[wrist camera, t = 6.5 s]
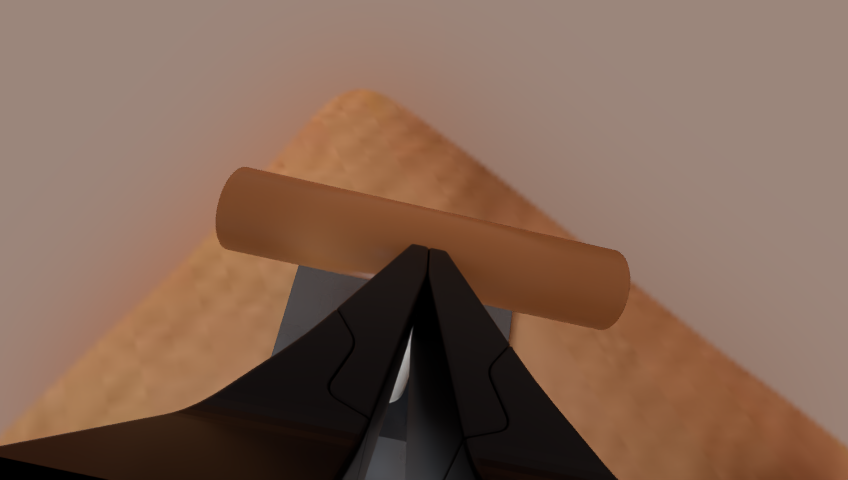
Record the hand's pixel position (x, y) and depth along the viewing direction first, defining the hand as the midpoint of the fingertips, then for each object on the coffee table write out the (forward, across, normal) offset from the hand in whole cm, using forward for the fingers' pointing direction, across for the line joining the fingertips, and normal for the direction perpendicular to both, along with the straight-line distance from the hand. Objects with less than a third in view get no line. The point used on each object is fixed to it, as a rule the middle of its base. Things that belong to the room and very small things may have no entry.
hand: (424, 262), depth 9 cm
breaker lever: (+3, 0, +9) cm, 10 cm away
